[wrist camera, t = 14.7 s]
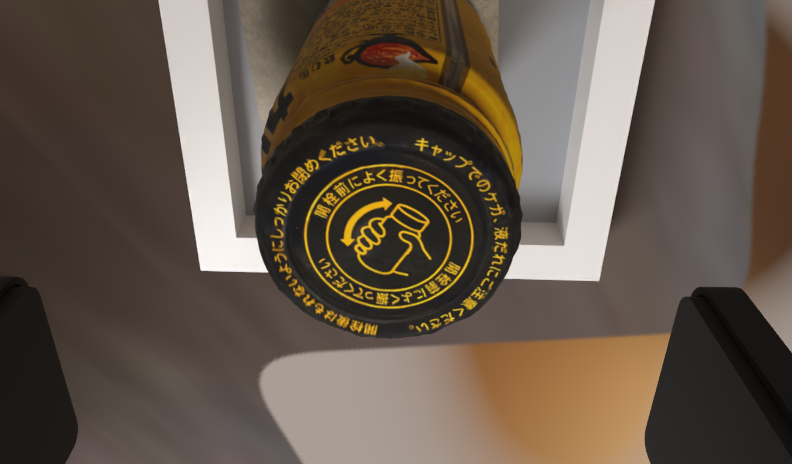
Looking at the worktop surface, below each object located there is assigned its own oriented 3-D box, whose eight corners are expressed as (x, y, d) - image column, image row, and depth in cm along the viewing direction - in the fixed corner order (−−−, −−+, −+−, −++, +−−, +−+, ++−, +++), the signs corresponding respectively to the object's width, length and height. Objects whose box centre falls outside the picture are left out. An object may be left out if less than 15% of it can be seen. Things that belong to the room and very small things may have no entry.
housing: (584, 246, 28) (598, 281, 26) (217, 236, 28) (200, 270, 26) (670, -227, 20) (701, -234, 18) (152, -235, 20) (120, -243, 18)
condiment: (497, 147, 25) (556, 373, 15) (267, 159, 25) (166, 386, 15) (498, -70, 21) (578, 25, 11) (230, -51, 22) (61, 58, 11)
